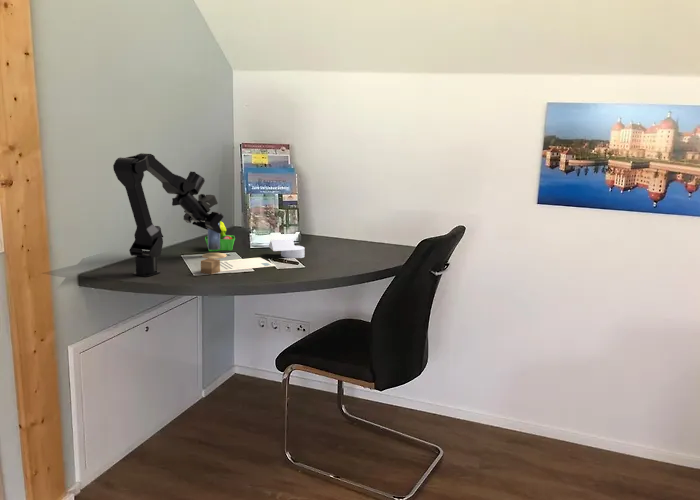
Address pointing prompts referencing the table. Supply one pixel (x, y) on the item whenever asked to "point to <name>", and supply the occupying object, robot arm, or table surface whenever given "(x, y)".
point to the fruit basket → (224, 239)
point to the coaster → (214, 255)
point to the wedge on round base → (287, 248)
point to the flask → (213, 240)
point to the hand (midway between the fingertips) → (216, 231)
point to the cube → (210, 266)
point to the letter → (244, 264)
